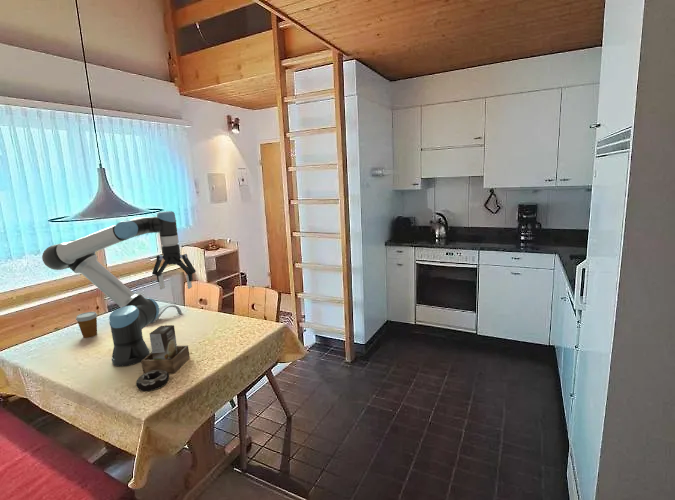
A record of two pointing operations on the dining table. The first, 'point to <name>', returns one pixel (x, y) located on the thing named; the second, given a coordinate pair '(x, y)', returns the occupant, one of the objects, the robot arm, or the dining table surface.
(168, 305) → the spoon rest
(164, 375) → the donut
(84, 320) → the disposable coffee cup
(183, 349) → the open wooden box
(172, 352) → the coffee box
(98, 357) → the dining table surface
